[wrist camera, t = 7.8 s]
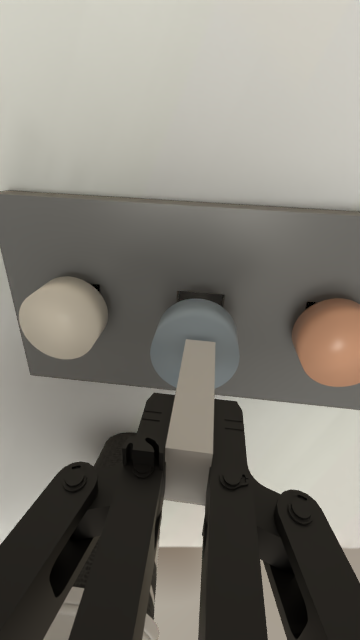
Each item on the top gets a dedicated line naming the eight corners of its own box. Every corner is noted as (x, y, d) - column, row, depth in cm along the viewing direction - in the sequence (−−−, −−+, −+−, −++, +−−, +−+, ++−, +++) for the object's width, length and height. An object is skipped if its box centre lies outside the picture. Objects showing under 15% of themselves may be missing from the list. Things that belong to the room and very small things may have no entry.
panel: (42, 361, 27) (30, 375, 25) (7, 190, 20) (-13, 193, 18) (357, 393, 25) (368, 410, 23) (431, 216, 18) (454, 221, 17)
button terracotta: (279, 344, 22) (292, 382, 18) (294, 283, 20) (312, 312, 16) (346, 351, 22) (374, 390, 18) (369, 289, 20) (405, 320, 16)
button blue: (162, 347, 21) (150, 387, 18) (163, 283, 19) (149, 313, 15) (230, 353, 21) (233, 396, 17) (239, 289, 19) (245, 322, 15)
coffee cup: (135, 406, 28) (64, 622, 15) (199, 464, 31) (186, 689, 18) (71, 445, 32) (-32, 647, 19) (133, 494, 35) (82, 699, 21)
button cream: (57, 324, 23) (27, 355, 20) (47, 264, 21) (11, 287, 17) (117, 329, 23) (98, 362, 19) (114, 269, 21) (91, 294, 17)
